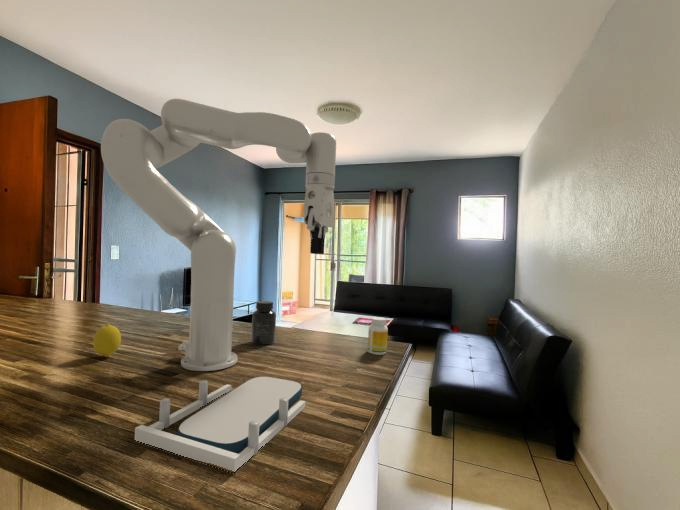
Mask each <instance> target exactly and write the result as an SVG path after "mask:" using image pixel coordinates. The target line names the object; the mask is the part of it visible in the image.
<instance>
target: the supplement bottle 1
mask: <svg viewBox="0 0 680 510" xmlns="http://www.w3.org/2000/svg"><path fill="white" fill-rule="evenodd" d="M255 309H256V310H255V311H253V312H252V315H251V316H252V318H251V342H250V343H252V344H253V345H256V346H270V345H273V344H274V343H275V341H276V324H277V323H276V321H277V314H276V312H275V311H274V310H273V309H274V302H273V301H270V300H261V301H260V300H259V301H256V306H255Z"/></svg>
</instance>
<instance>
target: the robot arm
mask: <svg viewBox="0 0 680 510" xmlns="http://www.w3.org/2000/svg"><path fill="white" fill-rule="evenodd" d="M160 120H161V123H162V124H161V125H160V126H158V127H156V128H154V129H152V130H149V129H148V127H146V126H145V125H143V124H142V123H140V122H139V121H135V120H133V119H130V118H119V119H116V120H113V121H112V122H110V123H109V124H108V125H107V127H106V128H105V130H104V131H103V134H102V136H101V140H100V154H101V159H102V162H103V165H104V167H105V169H106V171H107V173H108V174H109V176H110V178H111V180H112V181H113V182H114V183H115V184H116V186H117V187H119V188H120V190H121V191H122V192H123V193H124V194H125V195H126V196H127V197H128V198H129V199H130V200H132V202H134V204H136V205H137V207H138V208H139V209H141V210H142V211H143V212H144V213H145V214H146V215H147V216H148V217H149V218H151V220H152V221H153V222H154V223H156V224H157V226H159V227H160V229H161V230H162V231H163V232H164V233H166V234H167V235H168V236H171V237H174V238H176V239H177V241H179V242H180V243H181V244H183V245H184V246H185V247H186V248H187V249H188V250H189V251H190V272H191V273H190V277H191V278H190V280H191V281H190V283H191V284H190V313H189V337H188V339H189V340H187V339H184V340H183V341H182V342H181V344H179V345H178V347H177V349H178V350H179V351H181V352H182V351H183V352H185V355H184V356H183V357H182V358H181V360H180V366H181V367H182V368H183V369H185V370H188V371H193V372H211V371H219V370H223V369H224V370H225V369H227V368H230V367H232V366H234V365H236V363H237V362H238V354H236V353H235V352H233V351H232V345H233V344H232V340H233V321H234V320H233V319H234V317H233V316H234V298H235V297H234V290H235V264H236V255H237V254H236V253H237V246H236V243H235V241H234V239H233V238H232V237H231V236H230V234H227V233H226V232H225V231H224V230H223V229H222V228H221V227H220V226H219V225H218V224H217V223H215V221H213V219H212V218H211V217H209V216H208V214H206V213H205V211H203V210H202V208H201V207H199V206H198V205H197V204H196V203H195V202H193V201H191V199H189V198H187V197H185V196H184V194H182V192H180V191H179V190H178V189H177V188H176V187H175V186H174V185H172V184H171V183H170V182H169V180H168V179H167V178H166V177H164V176H163V175H162V174H161V172H159V170H157V169H159V168H161V167H163V166H165V165H167V164H168V163H171V162H172V161H174V160H176V159H177V158H179V157H181V156H182V155H185V154H187V153H188V152H190V151H191V150H193V149H194V148H196V147H198V145H200V144H201V143H202V144H206V145H210V146H211V145H212V146H214V147H219V148H224V149H227V150H236V149H241V148H243V147H247V146H254V145H257V146H258V145H259V146H267V147H271V148H272V147H273V148H275V151H276V155H277V156H278V158H279V159H280V160H281V161H283V162H285V163H288V164H305V163H306V164H305V185H304V186H305V195H304V203H303V223H304V224H306V229H308V231H309V236H310V248H309V249H310V252H309V253H310V254H315V255H324V254H325V242H326V241H325V240H326V234H327V233H328V232H329V228H333V227H334V226H335V194H334V190H335V183H336V182H335V181H336V156H337V139H336V138H335V136H334V135H333V134H331V133H327V132H320V131H319V132H314V133H311V130H310V129H309V128H308V127H307V126H306V125H305V124H304V123H303V122H301V121H299V120H297V119H294V118H291V117H288V116H284V115H280V114H275V113H271V112H264V111H263V112H262V111H261V112H260V111H257V112H256V111H255V112H253V111H252V112H250V111H249V112H248V111H247V112H245V111H243V112H237V111H236V112H235V111H232V110H227V109H223V108H219V107H215V106H210V105H206V104H203V103H198V102H195V101H191V100H187V99H182V98H172V99H168V100H167V101H166V102H164V104H163V105H162V108H161V111H160Z"/></svg>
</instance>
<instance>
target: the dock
mask: <svg viewBox="0 0 680 510" xmlns="http://www.w3.org/2000/svg"><path fill="white" fill-rule="evenodd" d="M208 384H209V381H208V380H207V379H206V380H201V381H199V383H198V399H197V400H195V401H193V402H191V403H189V404H188V405H185V406H183V407H182V408H180V409H178V410H176V411H174V412H172V413H171V398H168V397H165V398H162V399H160V400H159V413H158V414H159V415H158V416H159V418H158V419H159V420H158V421H156V422H154V423H152V424H150V425H148V426H147V425H144V424H140V425H138V426H136V427H135V428H134V440H136V441H135V442H137V441H139V442H138V443H140V442H142V443H141V444H143V443H145V444H144V445H146V444H149V445H152V446H155V447H158V448H162V449H164V450H167V451H170V452H173V453H175V454H174V455H176V454H178V455H177V456H179V455H181V456H180V457H182V456H184V457H183V458H185V457H188V458H192V459H194V460H198V461H202V462H206V463H211V464H214V465H217V466H220V467H223V468H226V469H228V470H232V471H234V472H235V471H236V470H237V469H238V468H239V467H241V466H242V465H243V464H244V463H245V462H246V463H248V462H249V461H250V460H251V459H252V458H253V457H254V456H255V455H254V454H256V453H257V452H258V453H259V451H260V450H261V449H262V448H263V447H264V446H266V445H267V444H268V443H269V442H270V441H271V440H272V439H273V438H274V437H275V436H276V435H277V434H279V432H280V431H281V430H283V429H284V428H285V427H288V424H289V423H290V422H292V420H293V419H294V418H295V417H297V415H298V414H300V413H301V412H302V411H303V410H304V409H305V408H306V402H307V401H306V400H300V399H299V401H297V403H296V404H294V405H292V406H291V407H290V408H289V409H288V398H281V399H280V400H279V419H278V420H277V421H276V422H274V423H273V424H272V425H271V426H270V427H269V428H268V429H267V430H266V431H265V432H264V433H263V434H261V435H260V436H259V421H251V422H249V431H248V447H246V448H245V449H244V450H243V451H241V452H239V453H233V452H230V451H227V450H224V449H220V448H217V447H214V446H210V445H207V444H204V443H200V442H197V441H194V440H190V439H187V438H184V437H181V436H177V434H173V433H171V432H166V431H163V430H164V428H165V429H167V428H169V427H170V426H171V425H173V424H175V423H176V422H178V421H180V420H182V419H184V418H186V417H187V416H189V415H191V414H192V413H194V412H197V410H199V409H201V408H202V406H203V407H206V406H208V404H210V403H212V402H213V401H215V400H217V399H219V398H221V397H222V396H224V395H226V394H227V393H229V392H231V391H232V384H229V383H228V384H225V385H223V386H221V387H219V388H218V389H215V390H213V391H212V392H210V393H209V394H208V392H209V391H208V388H209V387H208V386H209V385H208ZM225 393H226V394H225ZM223 394H224V395H223ZM221 395H222V396H221ZM218 397H219V398H218ZM216 398H217V399H216ZM214 399H215V400H214ZM212 400H213V401H212ZM211 401H212V402H211ZM209 402H210V403H209ZM207 403H208V404H207ZM205 405H206V406H205ZM200 407H201V408H200ZM266 443H267V444H266ZM265 444H266V445H265ZM149 445H148V446H149ZM152 446H151V447H152ZM262 446H263V447H262ZM155 447H154V448H155ZM261 447H262V448H261ZM158 448H157V449H158ZM260 448H261V449H260ZM259 449H260V450H259ZM164 450H163V451H164ZM258 450H259V451H258ZM167 451H166V452H167ZM170 452H169V453H170ZM173 453H172V454H173ZM253 455H254V456H253ZM256 455H257V454H256ZM252 456H253V457H252ZM251 457H252V458H251ZM188 458H187V459H188ZM250 458H251V459H250ZM249 459H250V460H249ZM194 460H193V461H194ZM248 460H249V461H248ZM247 461H248V462H247ZM246 463H245V464H246ZM245 464H244V465H245ZM244 465H243V466H244ZM243 466H242V467H243ZM242 467H241V468H242Z"/></svg>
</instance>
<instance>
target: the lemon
mask: <svg viewBox="0 0 680 510" xmlns="http://www.w3.org/2000/svg"><path fill="white" fill-rule="evenodd" d="M121 343H122V335H121V332H120V330H119V329H118V328H117V327H116V326H114V325H111V324H110V323H106V324H105V325H103V326H101V327H100V328H98V329H97V331H96V332H95V333H94V336H93V340H92V344H93V345H92V346H93V349H94V351H95V352H96V353H97V354H98V355H102V356H104V358H108V357H109V356H111V355H112V354H114V353H115V352H116V351H117V350H119V348H120V346H121ZM107 356H108V357H107Z"/></svg>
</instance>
